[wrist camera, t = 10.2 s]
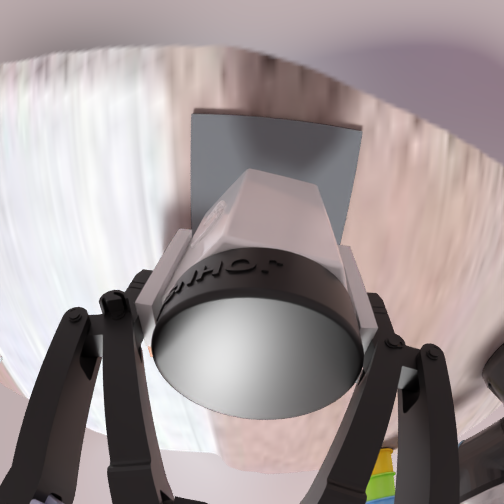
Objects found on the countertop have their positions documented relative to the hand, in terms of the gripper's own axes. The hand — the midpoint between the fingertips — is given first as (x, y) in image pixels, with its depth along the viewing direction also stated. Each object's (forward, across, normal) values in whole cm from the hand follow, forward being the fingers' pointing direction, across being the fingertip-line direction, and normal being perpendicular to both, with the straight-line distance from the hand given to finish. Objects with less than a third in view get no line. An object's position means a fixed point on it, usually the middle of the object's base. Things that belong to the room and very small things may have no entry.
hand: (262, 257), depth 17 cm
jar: (+4, 0, 0) cm, 4 cm away
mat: (+10, 0, 0) cm, 10 cm away
